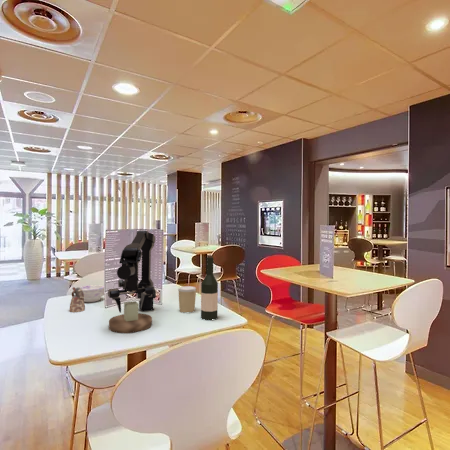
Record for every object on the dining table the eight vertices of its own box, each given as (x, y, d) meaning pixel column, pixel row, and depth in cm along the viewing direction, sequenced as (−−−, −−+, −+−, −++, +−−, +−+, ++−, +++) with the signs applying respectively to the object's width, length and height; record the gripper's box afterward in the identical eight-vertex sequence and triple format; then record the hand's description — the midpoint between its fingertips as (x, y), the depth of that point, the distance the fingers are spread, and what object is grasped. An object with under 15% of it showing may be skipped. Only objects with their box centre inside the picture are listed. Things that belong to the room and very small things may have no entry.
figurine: (78, 312, 152) (79, 288, 152) (66, 311, 153) (66, 288, 153) (87, 309, 159) (88, 286, 159) (75, 308, 160) (76, 285, 160)
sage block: (135, 316, 137) (135, 301, 137) (138, 319, 132) (138, 303, 132) (123, 318, 134) (124, 302, 134) (126, 321, 130) (126, 305, 130)
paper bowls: (86, 297, 185) (86, 284, 185) (109, 298, 183) (109, 285, 183) (70, 303, 170) (70, 289, 170) (95, 304, 168) (95, 290, 168)
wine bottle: (220, 316, 148) (221, 255, 149) (213, 321, 141) (213, 257, 141) (205, 314, 152) (206, 254, 152) (197, 318, 144) (198, 256, 145)
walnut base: (145, 317, 145) (145, 311, 145) (156, 328, 130) (156, 321, 130) (106, 323, 137) (106, 316, 137) (112, 335, 121) (112, 328, 121)
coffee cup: (198, 309, 161) (199, 286, 161) (191, 314, 152) (191, 290, 152) (183, 307, 164) (183, 285, 164) (174, 312, 155) (175, 288, 155)
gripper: (147, 271, 145) (147, 304, 145) (106, 274, 136) (105, 309, 136) (154, 275, 135) (153, 310, 135) (110, 278, 126) (109, 315, 126)
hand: (131, 311), depth 133 cm, fingers open, 9 cm apart
